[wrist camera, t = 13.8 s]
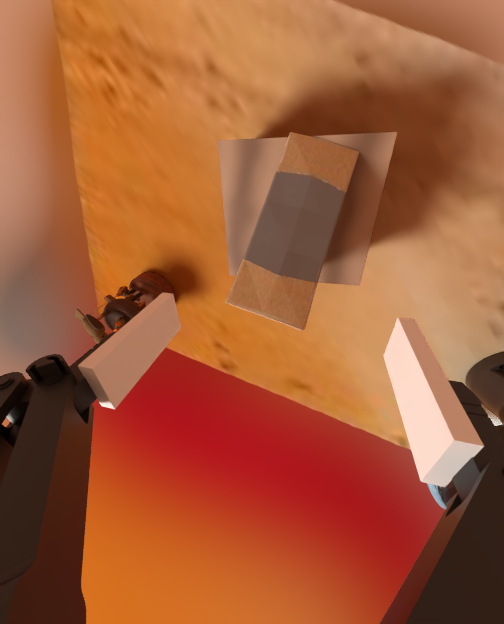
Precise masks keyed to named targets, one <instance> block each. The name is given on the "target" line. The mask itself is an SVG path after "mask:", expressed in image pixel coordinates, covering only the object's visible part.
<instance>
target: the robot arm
mask: <svg viewBox="0 0 504 624" xmlns="http://www.w3.org/2000/svg"><path fill="white" fill-rule="evenodd" d="M180 329H181V325H180V321H179V316H178V312H177V308H176V304H175V299H174V295H173V294H171V293H162V294H160V295H159V296H158V297H157V298H156V299H155V300H153V301H152V302H151V303H150V304H149V305H148V306H146V307H145V308H144V309H143V310H142V311H141V312H139V313H138V314H137V315H136V316H135V317H134V318H133V319H131V320H130V321H129V322H128V323H127V324H126V325H124V326H123V327H122V328H121V329H120V330H119V331H115V332H113V333H111V334H109V335H107V336H106V337H105V338H103V339H102V340H101V341H100V342H99V344H96V345H95V346H94V347H93V349H90V350H89V351H88V352H87V353H85V354H84V355H83V356H82V357H81V358H80V359H78V360H77V361H76V362H75V363H73V364H72V365H71V366H70V367H69V366H68V365H67V363H66V361H65V360H64V358H63V357H62V356H61V355H57V354H53V355H48V356H45V357H42V358H40V359H38V360H36V361H34V362H33V363H32V364H31V365H29V366H28V368H27V369H26V372H27V373H28V374H29V376H30V377H31V378H32V379H29V380H27V379H26V378H25V377H24V376H23V374H22V373H19V372H12V373H8V374H5V375H2V376H0V624H86V606H85V600H84V597H83V594H82V590H81V573H82V560H83V548H84V534H85V521H86V508H87V494H88V482H89V468H90V455H91V442H92V428H93V415H94V407H93V404H92V403H93V402H94V401H95V400H96V399H98V401H99V403H100V404H101V406H103V407H107V408H112V409H115V408H116V407H117V406H118V405H119V403H120V402H121V401H122V400H123V399H124V397H125V396H126V395H127V394H128V392H129V391H130V390H131V389H132V387H133V386H134V385H135V384H136V383H137V381H138V380H139V379H140V378H141V377H142V375H143V374H144V373H145V372H146V370H147V369H148V368H149V367H150V366H151V364H152V363H153V362H154V361H155V359H156V358H157V357H158V356H159V354H160V353H161V352H162V351H163V350H164V348H165V347H166V346H167V345H168V344H169V342H170V341H171V340H172V339H173V337H174V336H175V335H176V334H177V333H178V331H179V330H180ZM384 359H385V363H386V366H387V370H388V373H389V376H390V380H391V383H392V386H393V390H394V393H395V396H396V400H397V403H398V407H399V410H400V413H401V417H402V420H403V423H404V427H405V430H406V433H407V437H408V440H409V444H410V447H411V450H412V454H413V457H414V460H415V464H416V467H417V470H418V474H419V477H420V481H421V482H425V483H427V484H428V486H429V489H430V491H431V493H432V495H433V497H434V499H435V500H436V502H437V503H438V504H439V505H440V506H441V507H442V508H444V509H446V510H445V512H444V514H443V516H442V517H441V519H440V521H439V522H438V524H437V526H436V527H435V529H434V531H433V533H432V534H431V536H430V538H429V540H428V541H427V543H426V545H425V546H424V548H423V550H422V552H421V553H420V555H419V557H418V559H417V560H416V562H415V564H414V565H413V567H412V569H411V571H410V572H409V574H408V576H407V578H406V580H405V581H404V583H403V585H402V586H401V588H400V590H399V591H398V593H397V595H396V597H395V598H394V600H393V602H392V603H391V605H390V607H389V609H388V610H387V612H386V614H385V616H384V617H383V619H382V621H381V622H380V624H504V352H502V353H498V354H495V355H492V356H490V357H487V358H485V359H483V360H481V361H480V362H478V363H477V364H475V365H474V366H473V367H472V368H471V369H470V370H469V372H468V374H467V376H466V385H467V387H468V388H467V387H466V386H465V385H464V384H463V383H462V382H456V381H449V380H448V379H447V378H446V376H445V374H444V372H443V370H442V369H441V367H440V365H439V363H438V361H437V359H436V358H435V356H434V354H433V352H432V350H431V349H430V347H429V345H428V343H427V341H426V340H425V338H424V336H423V334H422V332H421V330H420V329H419V327H418V325H417V323H416V321H415V320H414V319H408V318H399V317H398V319H397V321H396V324H395V327H394V329H393V332H392V335H391V337H390V340H389V343H388V345H387V348H386V351H385V353H384ZM480 403H482V404H483V405H484V406H485V407H486V408H487V409H489V410H490V411H491V412H492V413H493V414H495V415H496V416H497V417H498V418H499V419H500V421H501V422H502V424H503V425H499V426H494V424H493V423H492V421H491V420H490V418H488V415H487V413H486V412H485V410H484V408H482V407H481V406H482V405H481V404H480ZM6 417H7V418H8V419H9V420H10V421H11V422H10V423H9V425H8V426H7V427H4V426H3V425H2V422H3V421H4V420H5V418H6Z"/></svg>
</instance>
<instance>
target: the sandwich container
mask: <svg viewBox="0 0 504 624" xmlns="http://www.w3.org/2000/svg"><path fill="white" fill-rule="evenodd" d="M358 155H359V152H358V151H356V150H353V149H350V148H347V147H344V146H341V145H338V144H336V143H333V142H330V141H327V140H324V139H319V138H315V137H311V136H306V135H302V134H297V133H293V132H290V134H289V137H288V139H287V142H286V145H285V147H284V150H283V153H282V156H281V158H280V161H279V164H278V167H277V169H276V172H275V175H274V178H273V180H272V183H271V186H270V189H269V191H268V194H267V197H266V200H265V202H264V205H263V207H262V210H261V213H260V215H259V218H258V220H257V223H256V226H255V228H254V231H253V234H252V236H251V239H250V242H249V244H248V247H247V250H246V252H245V255H244V258H243V260H242V263H241V265H240V268H239V270H238V272H237V275H236V277H235V280H234V282H233V285H232V287H231V290H230V292H229V295H228V297H227V299H226V301H225V303H227V304H229V305H232V306H235V307H238V308H241V309H244V310H246V311H249V312H252V313H255V314H258V315H260V316H263V317H266V318H269V319H271V320H274V321H277V322H279V323H282V324H285V325H287V326H290V327H293V328H295V329H298V330H301V331H302V330H304V329H305V326H306V323H307V319H308V315H309V312H310V308H311V305H312V301H313V297H314V294H315V290H316V287H317V283H318V280H319V277H320V274H321V270H322V267H323V264H324V261H325V258H326V255H327V251H328V248H329V245H330V242H331V239H332V236H333V232H334V229H335V226H336V223H337V220H338V217H339V213H340V210H341V207H342V204H343V201H344V198H345V195H346V191H347V188H348V185H349V182H350V179H351V176H352V173H353V170H354V167H355V164H356V161H357V158H358Z"/></svg>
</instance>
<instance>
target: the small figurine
mask: <svg viewBox="0 0 504 624" xmlns="http://www.w3.org/2000/svg"><path fill="white" fill-rule="evenodd" d="M162 293H171V294H173V295H174V290H173V288H172V286H171V285H170V283H169V282H168V281H167V280H166V279H165V278H164V277H162V276H161V275H159V274H157V273H154V272H144V273H142V274H140V275H139V276H137V277H136V278H135V279H133V280H132V281H131V283H130V285H129V290H128V288H127V287H126V286H124V287H121V288H120V289H119V290H118V293H117V294H116V296H117V297H118V296H122V295H123V296H124V297H125V296H126V297H125V298H124V299H115V297H116V296H115V297H112V296H111V295H107V296H106V297H105V298H104V299H105V300H106V301H107V302H109V303H108V304H107V305H106V306H105V308H104V311H103V313H102V314H101V315H100V317H99V318H98V319H96V318H94V317H93V316H91V314H92V313H93V312H92V313H89V314H90V315H88V314H87V315H86V316H84V315H83V314H82V313H81V312H80V311H79V310H78V309H76V312H75V315H74V316H75V317H76V318H78V319H79V320H81V321H82V323H83V326H84V328H85V329H86V331H87V332H88V333H89V334H90V335H91V336H92V337H94V340H95V342H96V343H98V344H99V342H100V341H101V340H102V339H103V338H105V337H106V336H107V335H109V334H106V333H105V332H104V331H105V328H104V326H103V324H102V323H101V322H100V321H99V320H100V319H102V318H104V321H105V323H106V324H107V326H108V327H109V328H110V329H111V330H112V331H113V332H115V331H119V330H120V329H121V328H122V327H123V326H124V325H126V324H127V323H128V322H129V321H130V320H131V319H133V318H134V317H135V316H136V315H137V314H138V313H139V312H141V311H142V310H143V309H144V308H145V307H146V306H148V305H149V304H150V303H151V302H152V301H153V300H155V299H156V298H157V297H158V296H159V295H160V294H162ZM174 299H175V295H174ZM107 302H106V303H107ZM106 303H105V304H106ZM105 304H103V305H105ZM103 305H102V306H103ZM102 306H101V307H102ZM99 308H100V307H99ZM99 308H98V309H99ZM96 310H97V309H96Z"/></svg>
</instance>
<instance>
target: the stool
mask: <svg viewBox="0 0 504 624" xmlns="http://www.w3.org/2000/svg"><path fill="white" fill-rule="evenodd" d="M396 136H397V132H384V133H364V134H343V135H322V136H311V137H315V138H319V139H324V140H327V141H330V142H333V143H336V144H338V145H341V146H344V147H347V148H350V149H353V150H356V151H358V152H359V155H358V158H357V161H356V164H355V167H354V170H353V173H352V176H351V179H350V182H349V185H348V188H347V191H346V195H345V198H344V201H343V204H342V207H341V210H340V213H339V217H338V220H337V223H336V226H335V229H334V232H333V236H332V239H331V242H330V245H329V248H328V251H327V255H326V258H325V261H324V264H323V267H322V270H321V274H320V277H319V280H318V282H320V283H333V284H345V285H358V286H360V282H361V278H362V274H363V270H364V266H365V262H366V258H367V254H368V249H369V245H370V241H371V237H372V233H373V229H374V225H375V221H376V217H377V213H378V209H379V205H380V201H381V197H382V193H383V188H384V184H385V180H386V176H387V172H388V168H389V164H390V160H391V156H392V152H393V148H394V144H395V140H396ZM287 139H288V137H281V138H260V139H240V140H219V141H218V147H219V158H220V170H221V181H222V193H223V204H224V216H225V227H226V239H227V250H228V262H229V274H230V275H232V276H236V275H237V272H238V270H239V268H240V265H241V263H242V260H243V258H244V255H245V252H246V250H247V247H248V244H249V242H250V239H251V236H252V234H253V231H254V228H255V226H256V223H257V220H258V218H259V215H260V213H261V210H262V207H263V205H264V202H265V200H266V197H267V194H268V191H269V189H270V186H271V183H272V180H273V178H274V175H275V172H276V169H277V167H278V164H279V161H280V158H281V156H282V153H283V150H284V147H285V145H286V142H287Z"/></svg>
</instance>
